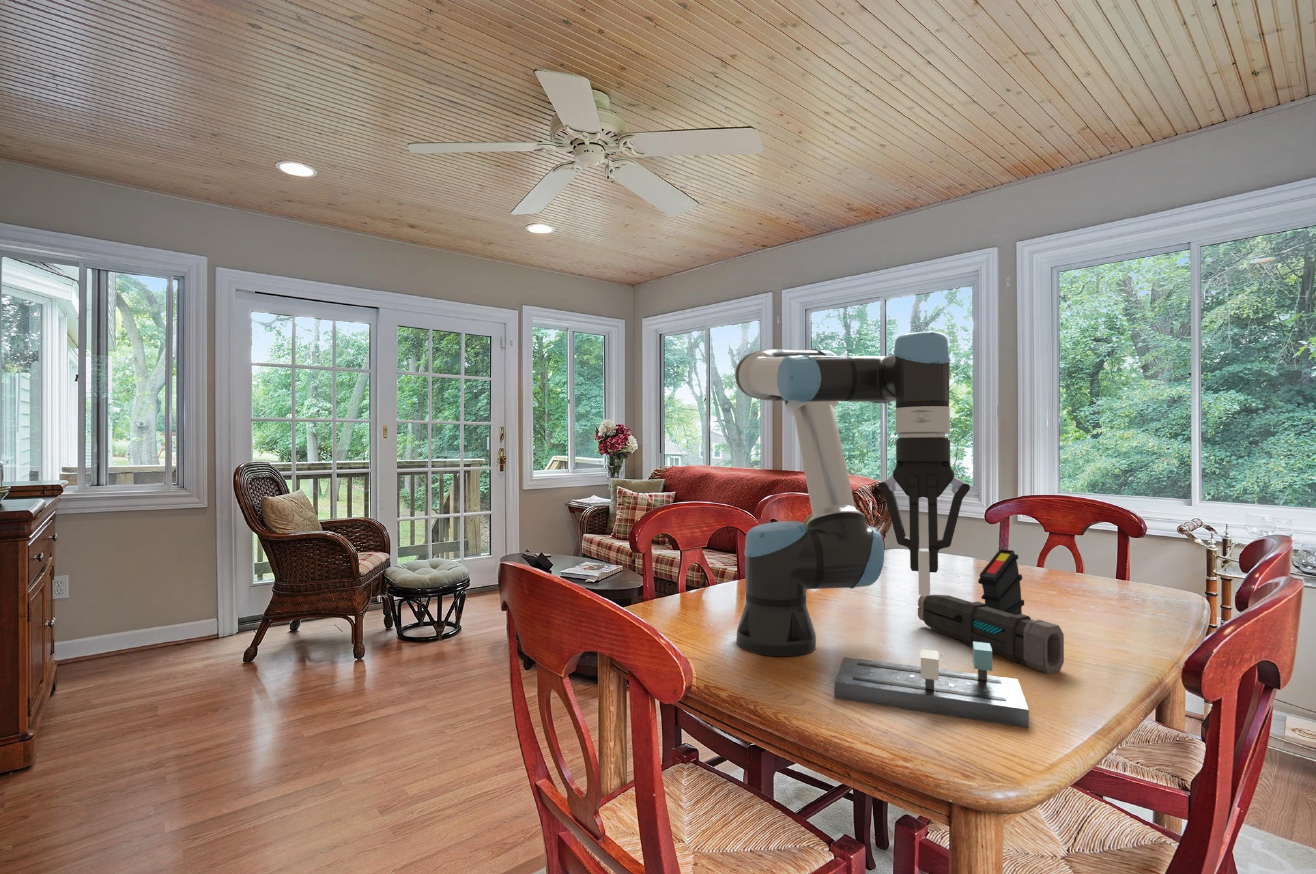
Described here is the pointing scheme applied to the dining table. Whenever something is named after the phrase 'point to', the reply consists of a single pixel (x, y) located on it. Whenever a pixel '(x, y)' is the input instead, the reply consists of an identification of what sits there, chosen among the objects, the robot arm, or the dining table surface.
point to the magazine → (1002, 583)
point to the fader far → (982, 659)
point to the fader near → (929, 667)
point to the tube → (996, 631)
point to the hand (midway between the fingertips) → (924, 593)
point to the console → (932, 691)
